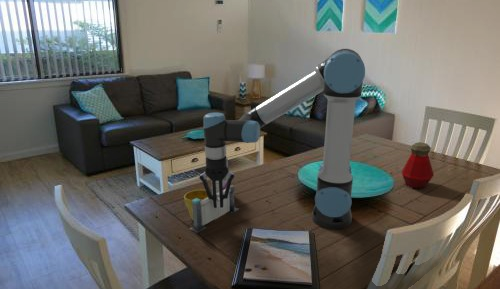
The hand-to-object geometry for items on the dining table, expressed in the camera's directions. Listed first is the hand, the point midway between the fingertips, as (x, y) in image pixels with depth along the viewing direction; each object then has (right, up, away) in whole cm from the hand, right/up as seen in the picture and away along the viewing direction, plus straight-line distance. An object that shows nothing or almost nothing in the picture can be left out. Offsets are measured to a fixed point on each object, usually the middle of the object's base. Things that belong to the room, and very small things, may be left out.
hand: (219, 214), depth 145 cm
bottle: (+89, +7, +35) cm, 96 cm away
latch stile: (-8, -5, -2) cm, 9 cm away
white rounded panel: (-1, -1, +5) cm, 6 cm away
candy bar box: (-1, +3, +23) cm, 23 cm away
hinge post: (+4, 0, +11) cm, 12 cm away
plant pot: (-8, -2, +5) cm, 10 cm away
